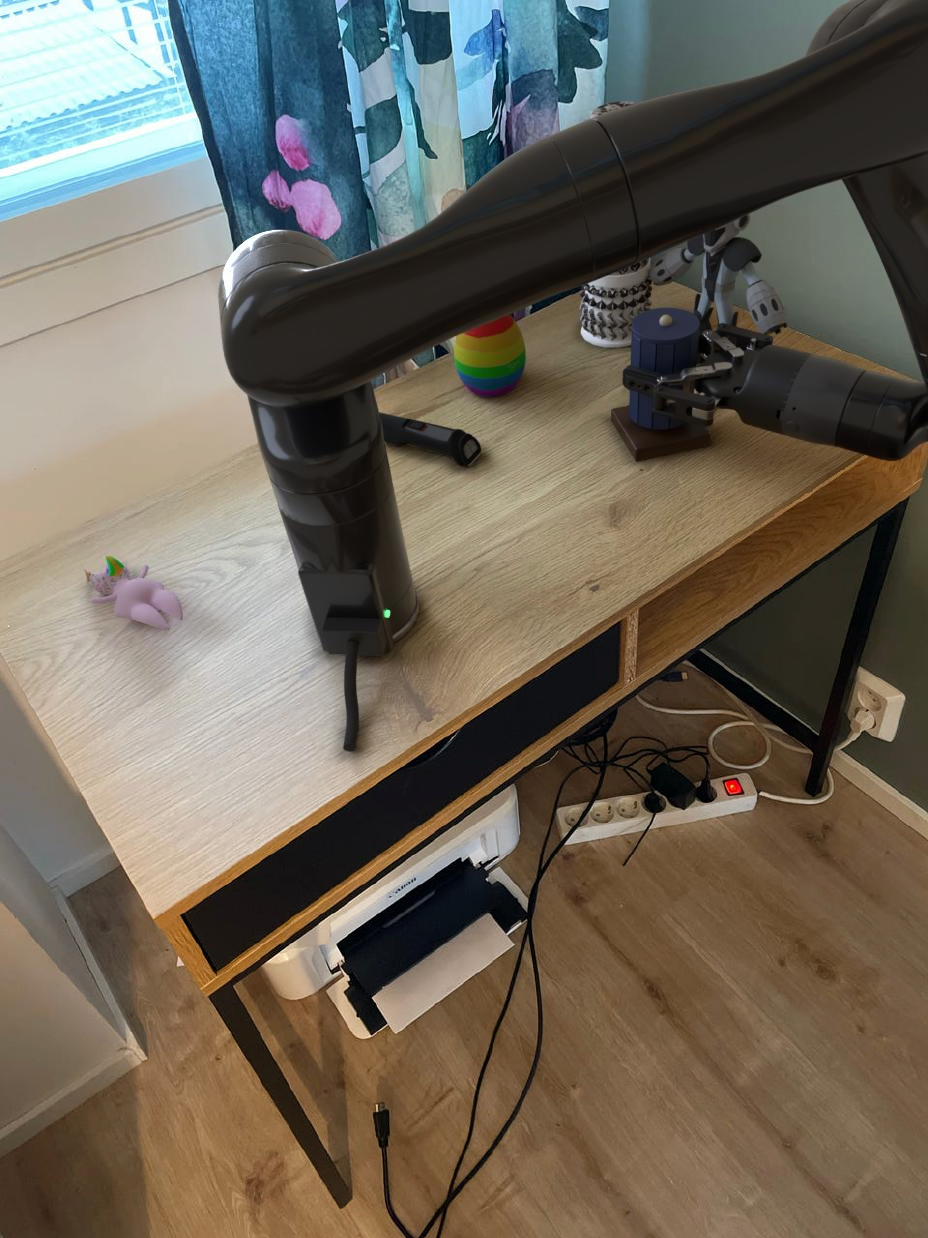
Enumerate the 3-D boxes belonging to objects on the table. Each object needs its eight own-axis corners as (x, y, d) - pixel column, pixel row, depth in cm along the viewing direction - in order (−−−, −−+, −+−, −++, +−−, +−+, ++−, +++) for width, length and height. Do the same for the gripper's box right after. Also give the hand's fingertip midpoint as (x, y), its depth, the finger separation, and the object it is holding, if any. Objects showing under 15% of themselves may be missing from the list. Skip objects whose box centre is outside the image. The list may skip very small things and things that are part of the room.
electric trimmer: (369, 421, 103) (363, 397, 101) (484, 450, 96) (481, 425, 94) (349, 439, 101) (343, 414, 99) (465, 470, 94) (462, 445, 92)
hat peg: (709, 445, 93) (721, 339, 84) (635, 461, 92) (639, 356, 84) (680, 405, 98) (688, 302, 90) (610, 420, 98) (612, 317, 89)
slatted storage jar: (692, 429, 91) (701, 331, 83) (628, 430, 92) (631, 333, 84) (690, 394, 95) (699, 298, 88) (629, 395, 96) (632, 300, 89)
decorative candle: (667, 335, 109) (682, 109, 91) (599, 356, 107) (600, 130, 89) (630, 305, 115) (637, 88, 97) (565, 324, 113) (560, 107, 96)
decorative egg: (535, 395, 103) (531, 313, 96) (466, 410, 102) (457, 329, 95) (516, 360, 109) (511, 281, 101) (451, 374, 108) (441, 295, 101)
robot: (789, 386, 99) (822, 199, 85) (757, 402, 97) (786, 215, 83) (666, 324, 111) (677, 151, 97) (636, 337, 109) (642, 165, 95)
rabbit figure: (81, 604, 88) (153, 659, 78) (51, 556, 84) (121, 607, 74) (136, 570, 91) (211, 618, 81) (109, 521, 87) (184, 566, 77)
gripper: (840, 323, 83) (681, 289, 91) (776, 398, 76) (609, 354, 84) (825, 394, 89) (676, 356, 96) (764, 470, 81) (608, 422, 89)
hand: (645, 355), depth 90 cm, fingers open, 8 cm apart
